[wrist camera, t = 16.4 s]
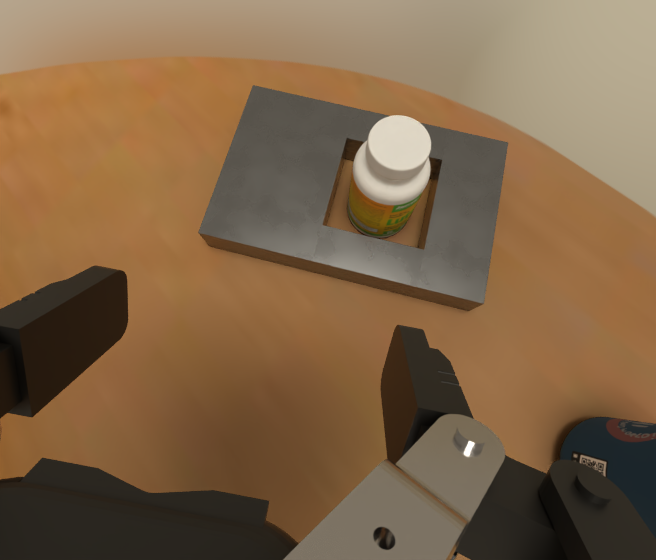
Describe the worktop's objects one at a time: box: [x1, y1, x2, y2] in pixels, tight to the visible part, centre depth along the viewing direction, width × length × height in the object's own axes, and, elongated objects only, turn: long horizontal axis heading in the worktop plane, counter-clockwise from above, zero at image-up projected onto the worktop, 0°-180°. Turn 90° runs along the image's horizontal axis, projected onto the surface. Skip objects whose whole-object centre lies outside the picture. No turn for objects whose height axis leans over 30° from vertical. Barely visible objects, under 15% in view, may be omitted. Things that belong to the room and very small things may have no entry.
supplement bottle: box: [348, 115, 431, 238], centre depth 28 cm, size 5×5×10 cm
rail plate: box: [198, 85, 508, 311], centre depth 31 cm, size 22×14×3 cm, turn 76°
